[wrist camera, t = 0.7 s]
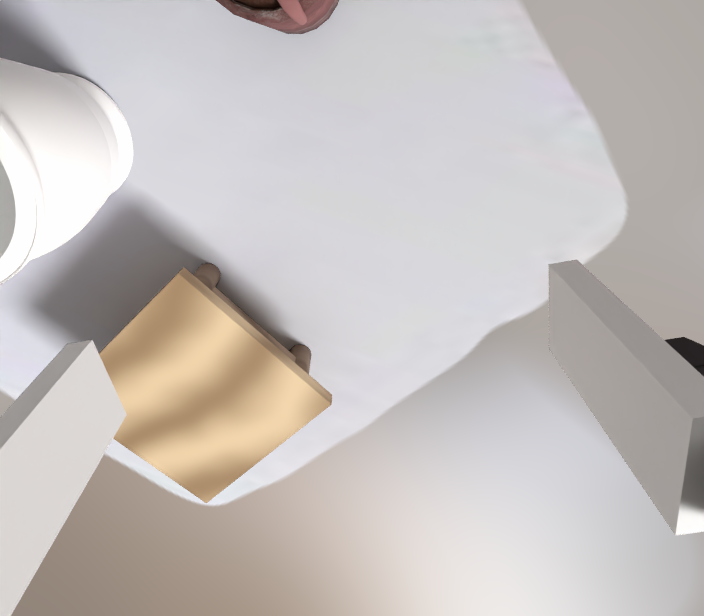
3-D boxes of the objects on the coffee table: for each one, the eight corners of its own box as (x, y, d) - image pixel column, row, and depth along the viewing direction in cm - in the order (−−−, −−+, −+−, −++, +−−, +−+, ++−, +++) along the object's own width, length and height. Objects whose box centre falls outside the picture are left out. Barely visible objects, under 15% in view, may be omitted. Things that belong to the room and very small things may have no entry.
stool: (97, 349, 44) (55, 398, 38) (205, 239, 40) (178, 273, 34) (224, 445, 49) (206, 503, 42) (333, 354, 44) (331, 404, 38)
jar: (165, 207, 39) (67, 288, 25) (28, 218, 39) (-141, 304, 26) (127, 47, 34) (-17, 43, 21) (-28, 62, 35) (-268, 66, 21)
